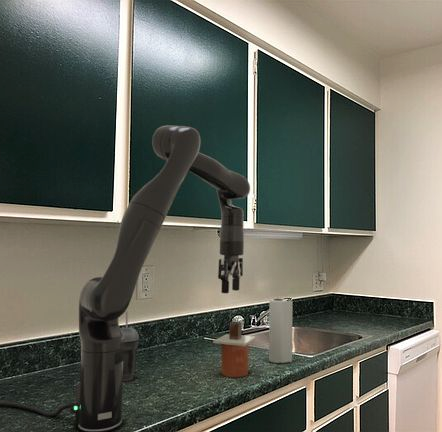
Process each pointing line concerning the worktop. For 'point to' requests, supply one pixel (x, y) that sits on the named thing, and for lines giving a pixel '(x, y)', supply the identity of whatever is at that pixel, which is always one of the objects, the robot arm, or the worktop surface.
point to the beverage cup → (129, 350)
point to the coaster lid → (235, 336)
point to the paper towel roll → (280, 331)
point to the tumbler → (234, 360)
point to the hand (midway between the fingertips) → (230, 291)
